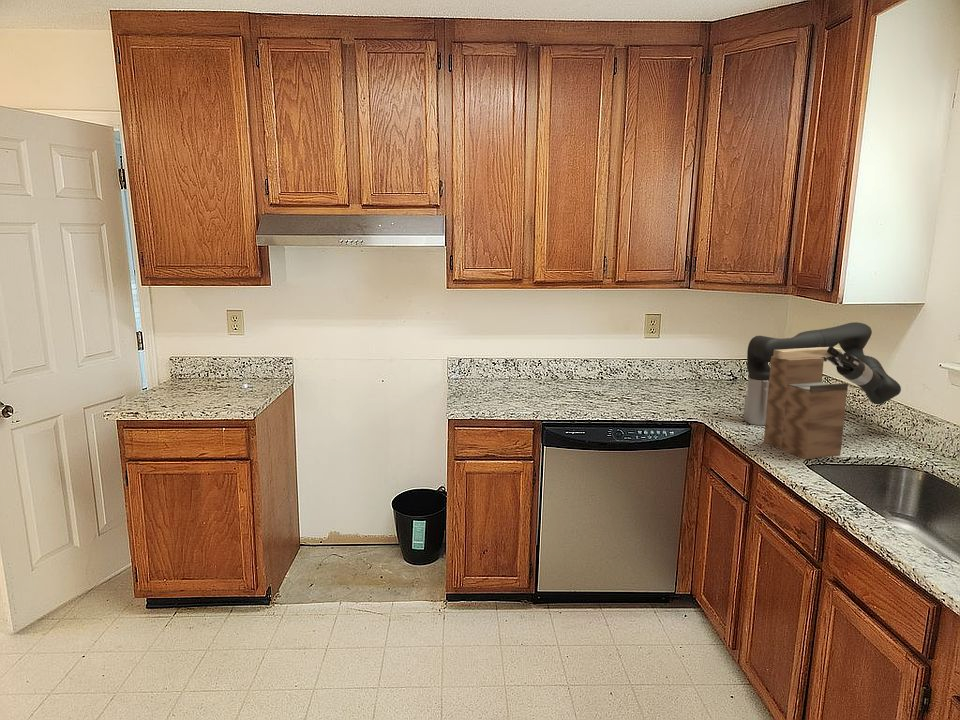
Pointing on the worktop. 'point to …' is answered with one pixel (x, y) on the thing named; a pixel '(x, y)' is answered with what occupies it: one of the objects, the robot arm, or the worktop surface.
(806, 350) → the birch plank
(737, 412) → the worktop surface
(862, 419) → the worktop surface
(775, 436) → the stepped shelf
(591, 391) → the worktop surface
